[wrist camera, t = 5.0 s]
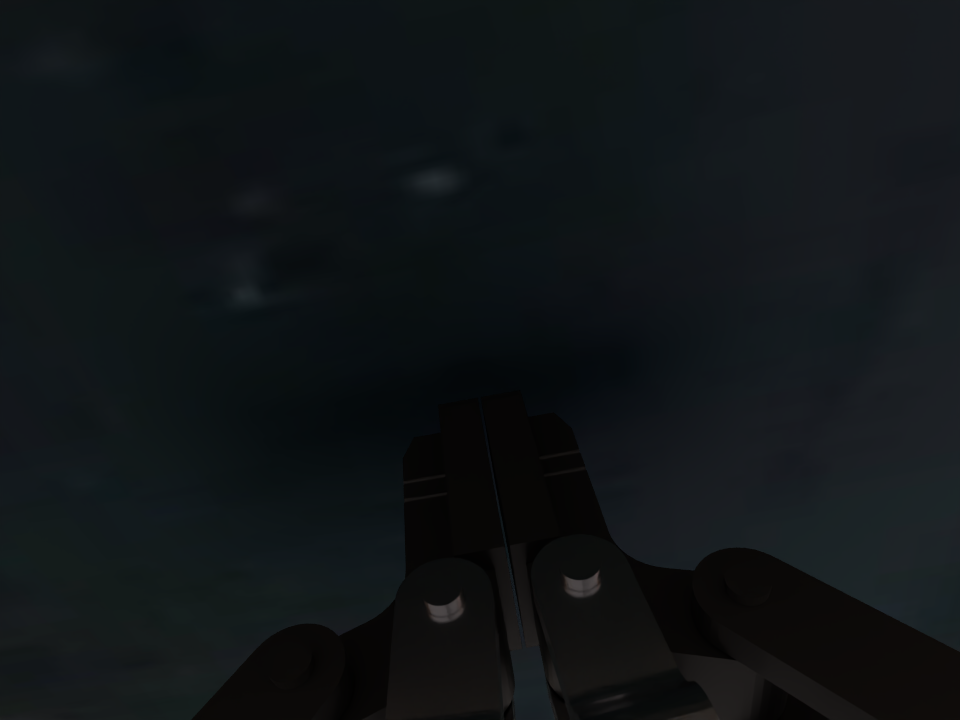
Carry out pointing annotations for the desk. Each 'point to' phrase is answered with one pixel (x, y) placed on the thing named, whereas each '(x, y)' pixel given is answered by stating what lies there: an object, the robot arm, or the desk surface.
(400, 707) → the robot arm
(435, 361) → the desk surface
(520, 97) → the desk surface
